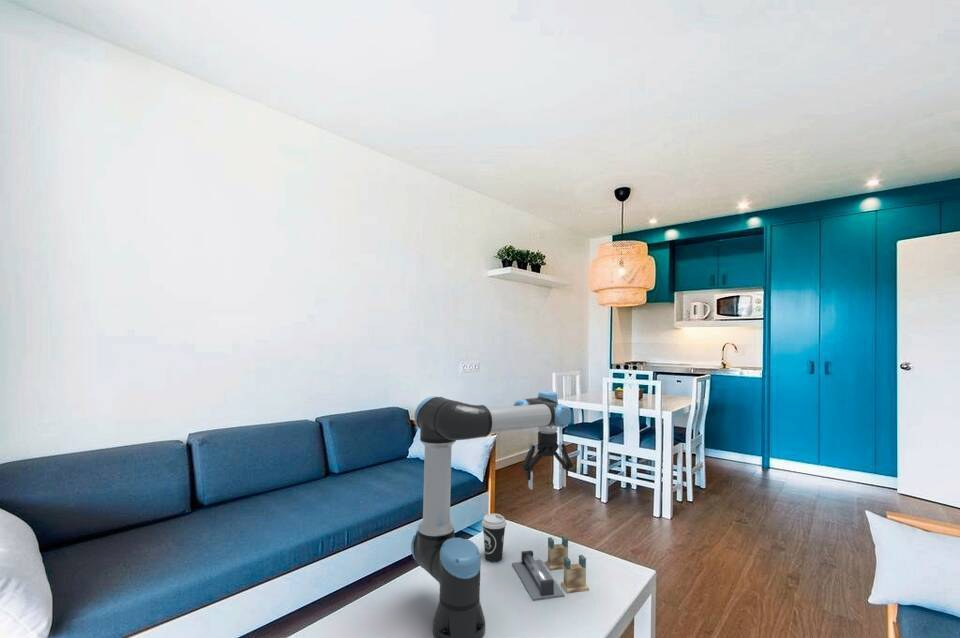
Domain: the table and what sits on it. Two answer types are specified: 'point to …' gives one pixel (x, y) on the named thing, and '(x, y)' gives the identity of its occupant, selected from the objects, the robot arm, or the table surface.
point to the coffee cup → (493, 536)
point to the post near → (574, 575)
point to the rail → (537, 573)
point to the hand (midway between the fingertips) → (547, 487)
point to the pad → (532, 584)
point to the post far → (557, 553)
